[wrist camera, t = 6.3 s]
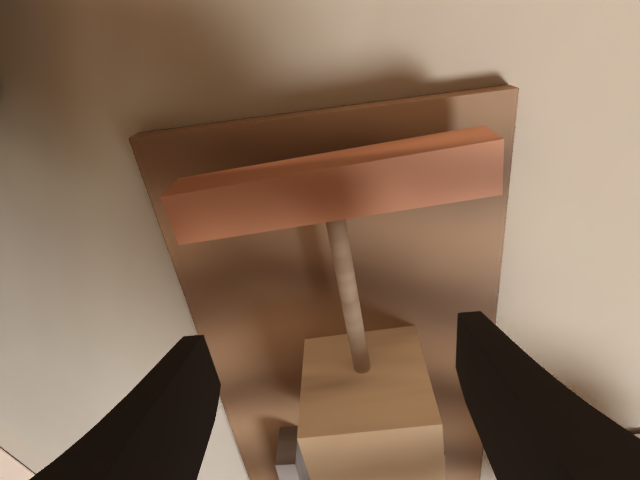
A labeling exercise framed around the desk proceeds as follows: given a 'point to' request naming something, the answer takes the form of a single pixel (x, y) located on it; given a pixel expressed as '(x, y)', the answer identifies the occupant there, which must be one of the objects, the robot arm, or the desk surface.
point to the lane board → (318, 268)
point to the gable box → (13, 468)
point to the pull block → (351, 287)
